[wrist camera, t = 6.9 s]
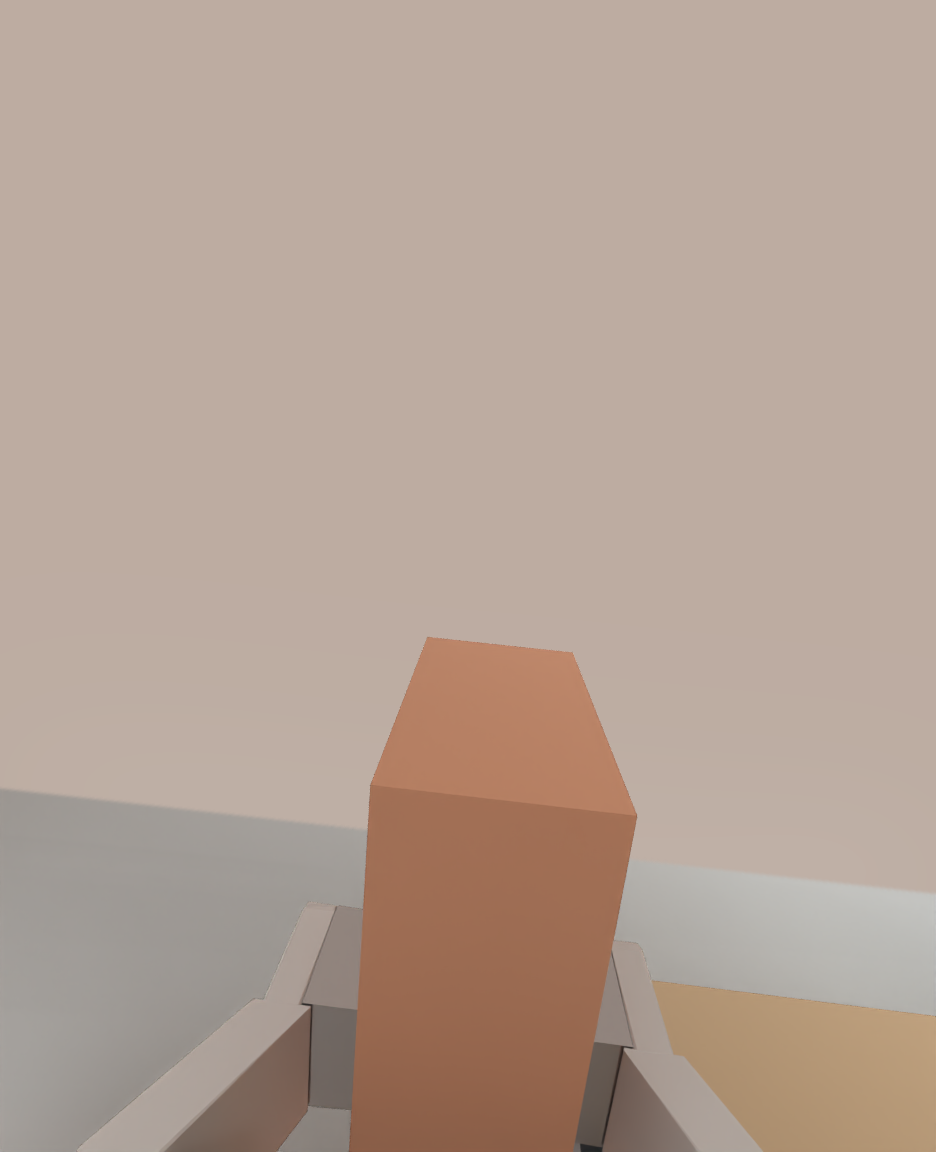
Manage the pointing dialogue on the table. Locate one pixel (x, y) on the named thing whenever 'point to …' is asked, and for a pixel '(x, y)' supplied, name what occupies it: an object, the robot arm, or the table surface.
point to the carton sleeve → (809, 1068)
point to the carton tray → (487, 906)
